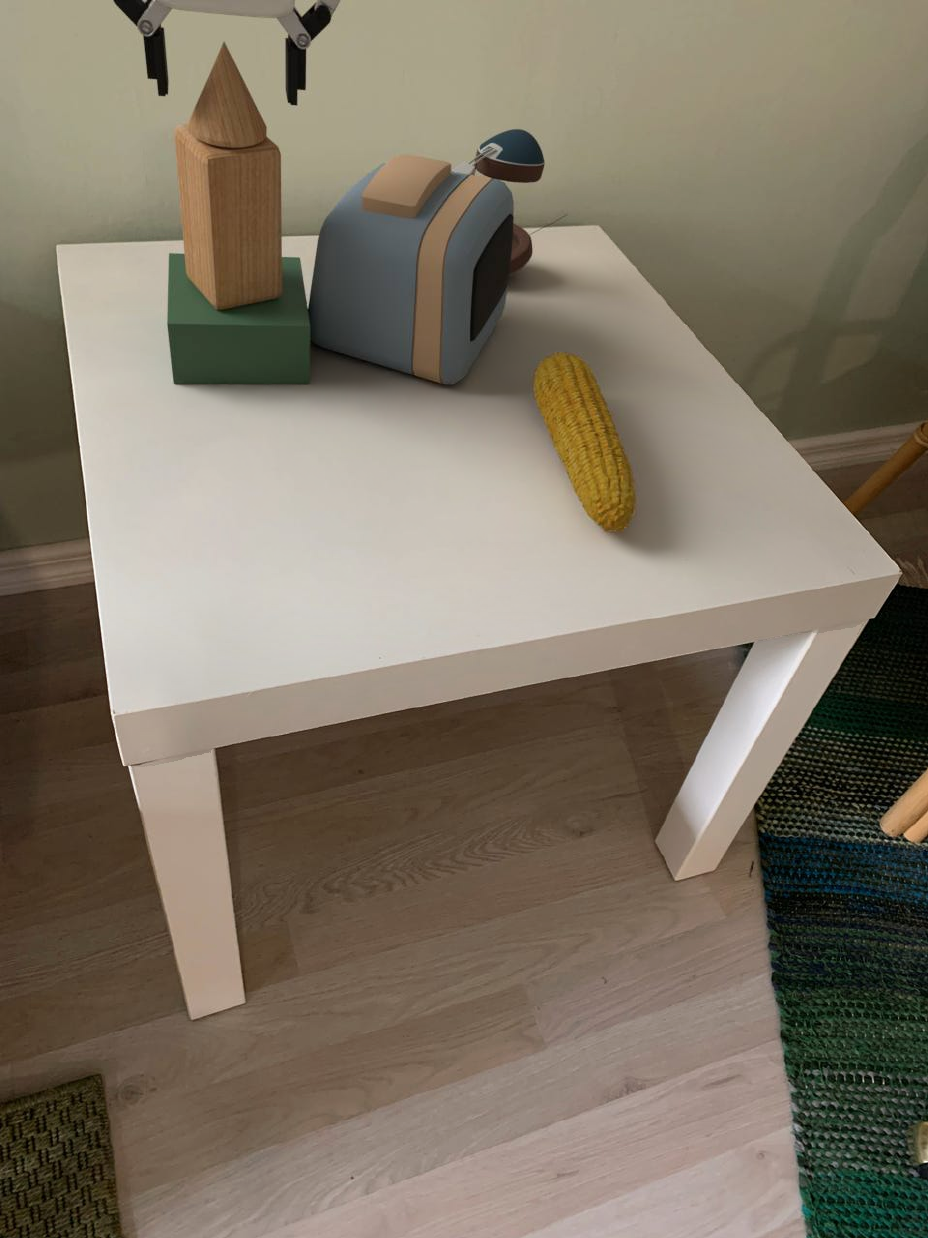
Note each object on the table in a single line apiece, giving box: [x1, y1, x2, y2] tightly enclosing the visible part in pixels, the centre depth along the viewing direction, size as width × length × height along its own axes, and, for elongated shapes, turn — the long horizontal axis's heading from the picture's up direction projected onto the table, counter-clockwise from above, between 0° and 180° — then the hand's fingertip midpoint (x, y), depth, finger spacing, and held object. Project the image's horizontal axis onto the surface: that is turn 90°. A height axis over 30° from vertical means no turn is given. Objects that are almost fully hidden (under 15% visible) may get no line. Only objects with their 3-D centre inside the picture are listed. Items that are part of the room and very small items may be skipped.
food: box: [532, 351, 637, 533], centre depth 82 cm, size 21×6×6 cm, turn 13°
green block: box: [166, 252, 311, 385], centre depth 88 cm, size 12×12×6 cm
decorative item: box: [173, 41, 283, 310], centre depth 78 cm, size 7×7×20 cm
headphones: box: [451, 128, 568, 277], centre depth 100 cm, size 6×15×22 cm
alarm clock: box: [307, 153, 515, 385], centre depth 90 cm, size 16×16×16 cm
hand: (228, 93), depth 74 cm, fingers open, 9 cm apart
